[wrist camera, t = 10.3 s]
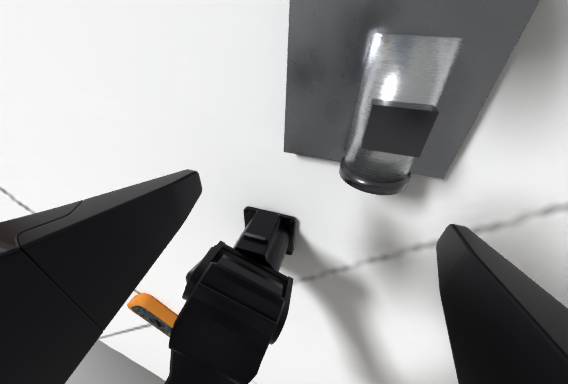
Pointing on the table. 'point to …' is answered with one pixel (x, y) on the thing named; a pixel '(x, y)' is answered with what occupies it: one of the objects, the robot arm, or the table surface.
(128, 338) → the table surface
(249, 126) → the table surface
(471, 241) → the robot arm
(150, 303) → the multimeter
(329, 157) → the plate
